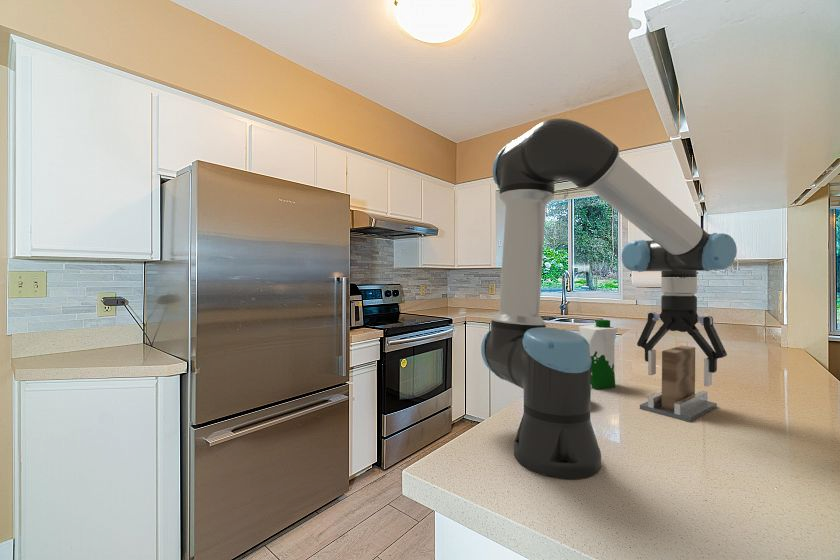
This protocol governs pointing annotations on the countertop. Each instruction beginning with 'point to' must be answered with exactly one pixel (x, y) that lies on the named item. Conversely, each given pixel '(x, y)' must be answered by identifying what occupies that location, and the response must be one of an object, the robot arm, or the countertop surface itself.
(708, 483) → the countertop surface
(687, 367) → the door panel
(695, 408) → the track
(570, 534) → the countertop surface
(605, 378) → the milk carton
